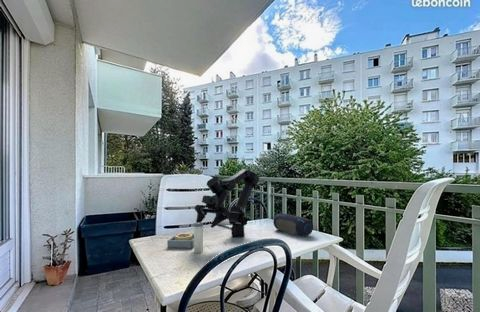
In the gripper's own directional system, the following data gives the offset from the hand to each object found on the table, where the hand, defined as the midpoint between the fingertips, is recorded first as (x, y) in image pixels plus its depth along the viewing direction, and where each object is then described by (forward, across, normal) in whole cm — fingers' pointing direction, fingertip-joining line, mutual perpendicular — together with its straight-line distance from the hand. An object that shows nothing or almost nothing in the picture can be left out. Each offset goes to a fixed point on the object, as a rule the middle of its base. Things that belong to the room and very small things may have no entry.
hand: (203, 226), depth 119 cm
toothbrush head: (-22, -16, +38) cm, 47 cm away
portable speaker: (-27, +23, +42) cm, 55 cm away
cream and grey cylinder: (+10, 0, +5) cm, 11 cm away
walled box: (+7, -14, +8) cm, 17 cm away
